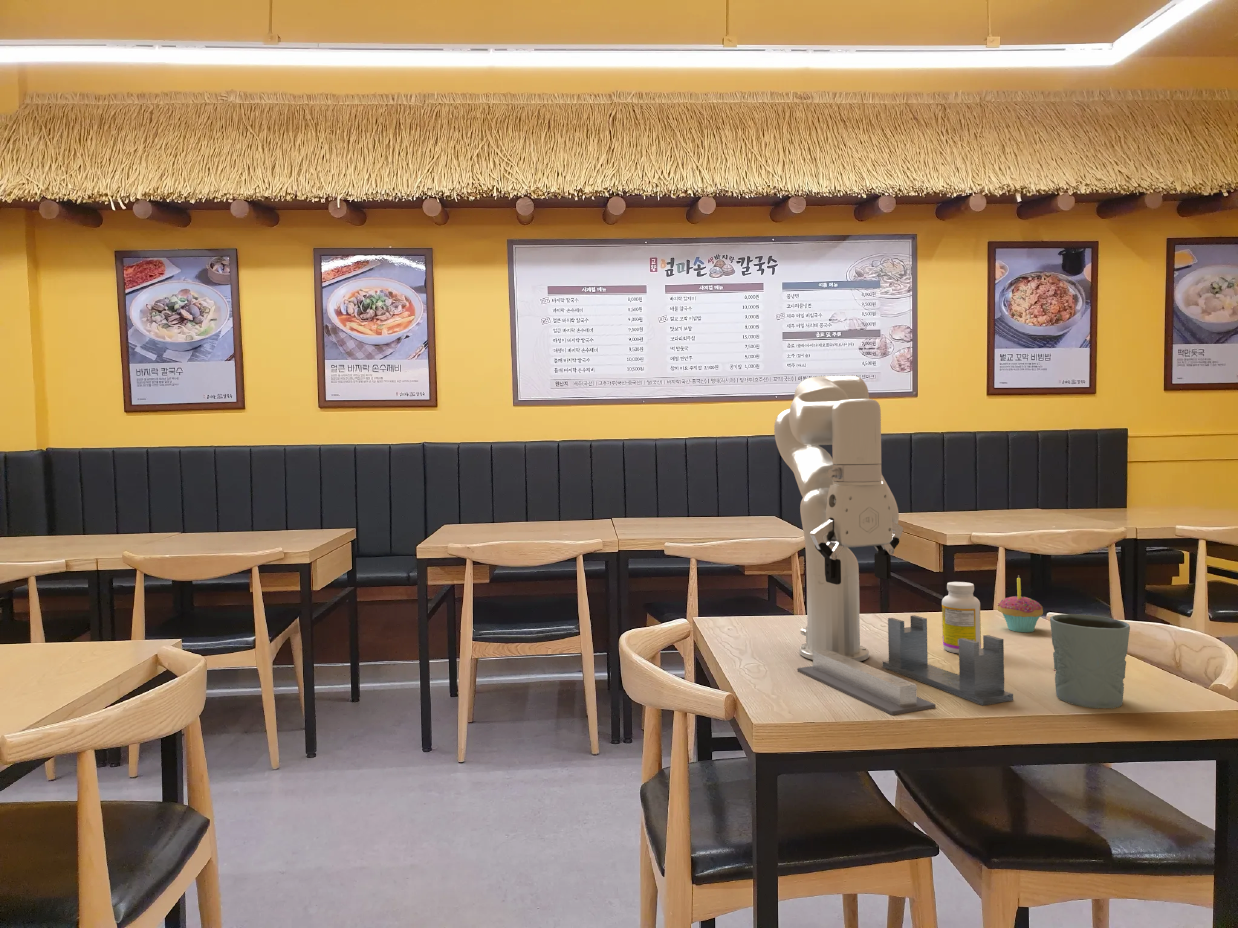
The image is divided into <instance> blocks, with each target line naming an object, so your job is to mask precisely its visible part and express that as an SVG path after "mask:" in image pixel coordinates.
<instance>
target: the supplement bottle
mask: <svg viewBox="0 0 1238 928" xmlns="http://www.w3.org/2000/svg"><path fill="white" fill-rule="evenodd" d="M946 590H947V592H948V595H945V596H944V597H943V598H942V600H941V614H942V615H941V617H942V621H941V622H942V624H941V625H942V647H943V649H944V650H945V651H947V652H950V653H953V654H958V655H959V639H960V638H965V639H969V640H972V641H976V642H979V649H981V648H982V636H981V635H982V632H981V631H982V629H981V628H982V627H981V626H982V625H981V624H982V623H981V602H980V600H979V599H978V598H977V597H976V596H974V591H975V585H974V583H971V582H965V581H949V582H947V584H946Z"/></svg>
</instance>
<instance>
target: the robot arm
mask: <svg viewBox="0 0 1238 928" xmlns="http://www.w3.org/2000/svg"><path fill="white" fill-rule="evenodd" d="M881 415H882V414H881V405H880V403H879V402H878V401H877V400H875V399H872V398H870V395H869V389H868V386H867V383H866V382H865V381H864V380H863V378H861V377H860V376H857V375H820V376H811V377H808V378H806V379H804V380H802V381H801V382H799V384H798V385H797V386H796V389H795V391H794V395H793V400H792V402H791V404H790V407H789V408H787V409H785V410H783V411H781V412H780V413H779V414H778V415H777V417H776V418H775V421H774V426H773V427H774V439H775V444H776V447H777V449H778V452H779V455H780V456H781V458H782V459H783V461H784V462H785V464H786V465H787V466H788V467H789V468H790V470H791V471H792V472H793V474H794V475H793V476H794V477H795V481H796V483H797V486H798V490H799V493H800V495H801V497H802V499H801V501H800V507H799V509H800V520H801V524H802V525H801V526H802V530H803V532H802V533H803V536H804V546H805V561H806V562H805V564H806V565H805V566H806V567H805V569H806V571H805V572H806V613H807V614H806V616H807V617H806V619H807V620H806V622H807V623H806V625H807V626H805V628H804V627H802V628H801V629H800V634H801V635H802V636H805V642H804V643H802V644H801V645H800V646H799V654H800V655H801V656H802V657H804V658H805V659H808V660H812V661H813V651H816V650H824V649H828V650H831V651H833V652H836V653H838V654H841V655H843V656H846V657H848V658H851V659H853V660H856V661H858V662H862V661H866V660H868V659H869V657H870V651H869V649H868V648H867V647H865V646H863V645H861V632H860V631H861V625H860V622H861V621H860V579H859V578H860V576H859V575H860V572H859V571H860V570H859V568H860V567H859V562H858V559H857V557H856V556H855V554H854V553H853V551H852V550H851V549H850V548H865V547H874V548H875V550H876V551H877V552H875V553H874V576H875V578H876V579H877V578H879V579H883V580H891V577H892V572H891V571H892V567H891V566H892V560H891V559H892V558H891V557H892V555H894V554H895V549H896V548H897V546H898V545H899V544H900V539H901V536H902V534H903V532H904V527H903V526H902V525H900V524H899V516H900V515H899V507H898V504H897V500H896V499H895V496H894V494H893V492H892V491H891V489H890V487H889V485H888V483H887V481H886V480H885V477H884V476H883V473H882V422H881V421H882V419H881V418H882V416H881ZM827 445H829V446H830V445H832V448H831V449H832V454H831V453H829V452H828V451H827V450H826V449H825V448H823V447H822V446H827ZM831 455H832V456H831Z"/></svg>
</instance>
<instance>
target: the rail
mask: <svg viewBox="0 0 1238 928" xmlns="http://www.w3.org/2000/svg"><path fill="white" fill-rule="evenodd" d="M812 666H813V668H814V669H816V670H819V671H821V672H823V673H825V674H828V675H830V676H832V677H834V678H836V679H839V680H841V681H843V682H845V683H848V684H850V685H852V686H854V687H856V688H859V689H861V690H863V691H865V692H868V693H870V694H872V695H874V696H876V697H879V698H881V699H883V700H885V701H888V702H890V703H892V704H894V705H897V706H899V707H905V706H911V705H917V697H918V696H917V694H918V693H917V691H918V690H917V684H916V683H914V682H912V681H909V680H906V679H904V678H901V677H899V676H897V675H894V674H891V673H888V672H886V671H884V670H881V669H878V668H876V667H873V666H871V665H868V664H866V663H863V662H862V661H860V662H858V661H856V660H853V659H851V658H848V657H846V656H843V655H841V654H838V653H836V652H833V651H831V650H828V649H824V650H816V651H813V660H812Z"/></svg>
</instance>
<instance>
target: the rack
mask: <svg viewBox="0 0 1238 928" xmlns="http://www.w3.org/2000/svg"><path fill="white" fill-rule="evenodd" d="M887 630H888V631H887V636H888V638H887V639H888V660H884V661H882V668H883V669H886V670H889V671H892V672H894V673H896V674H900V675H902V676H904V677H907V678H910V679H913V680H915V681H918V682H920V683H923V684H926V685H928V686H931V687H933V688H935V689H937V690H941V691H943V692H946V693H948V694H949V693H950V694H951V695H953V696H957V697H958V698H962V699H965V700H967V701H969V702H973V703H975V704H977V705H980V706H988V705H995V704H1000V703H1006V702H1012V701H1014V694H1013V693H1011V692H1009V691H1006V690H1005V660H1004V659H1005V658H1004V657H1005V656H1004V655H1005V654H1004V652H1005V650H1004V649H1005V645H1004V638H1001V637H997V636H994V635H993V636H992V635H991V634H984V635H982V636H983V637H982V639H983V640H982V641H983V644H982V645H983V646H982V647H981V649H979V642H976V641H972V640H969V639H965V638H960V639H959V654H958V661H959V662H958V665H959V673H954V672H951V671H948V670H946V669H943V668H940V667H937V666H935V665H931V664H928V662H929V661H928V657H929V656H928V618H927V617H922V616H919V615H913V614H912V615H910V626H908V627H905V620H901V619H899V618H895V617H888V618H887Z"/></svg>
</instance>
